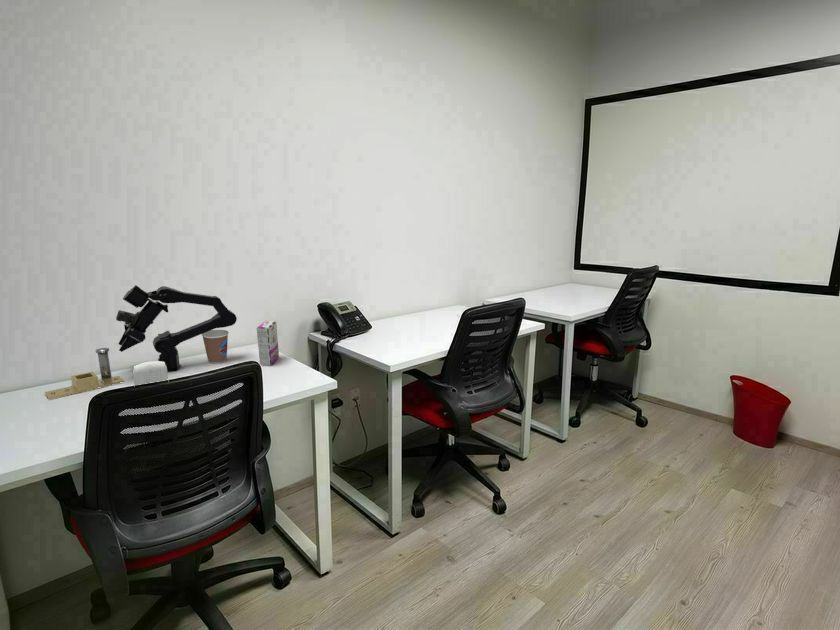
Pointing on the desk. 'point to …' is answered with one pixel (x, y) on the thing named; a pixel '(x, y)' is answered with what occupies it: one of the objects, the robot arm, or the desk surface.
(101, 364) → the hinge pin
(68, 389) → the brass socket plate
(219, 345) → the coffee cup
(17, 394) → the desk surface
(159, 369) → the photo printer
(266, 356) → the candy bar box
